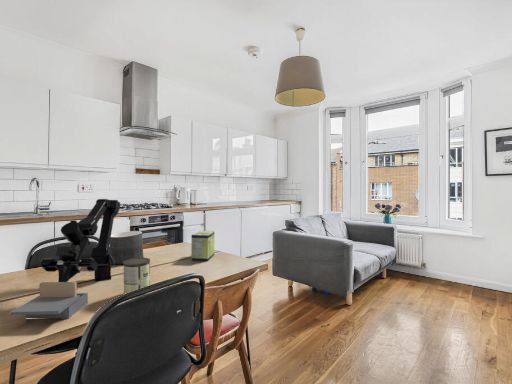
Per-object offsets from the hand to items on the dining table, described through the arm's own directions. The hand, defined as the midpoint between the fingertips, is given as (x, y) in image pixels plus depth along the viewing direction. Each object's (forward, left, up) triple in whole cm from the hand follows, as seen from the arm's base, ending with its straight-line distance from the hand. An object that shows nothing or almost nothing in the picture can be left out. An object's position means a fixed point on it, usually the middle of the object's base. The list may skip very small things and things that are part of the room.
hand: (59, 285), depth 100 cm
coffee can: (-26, -2, -9) cm, 28 cm away
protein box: (-69, -44, -9) cm, 83 cm away
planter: (-27, -58, -9) cm, 64 cm away
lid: (+3, +6, -4) cm, 8 cm away
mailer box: (0, +1, -9) cm, 9 cm away
